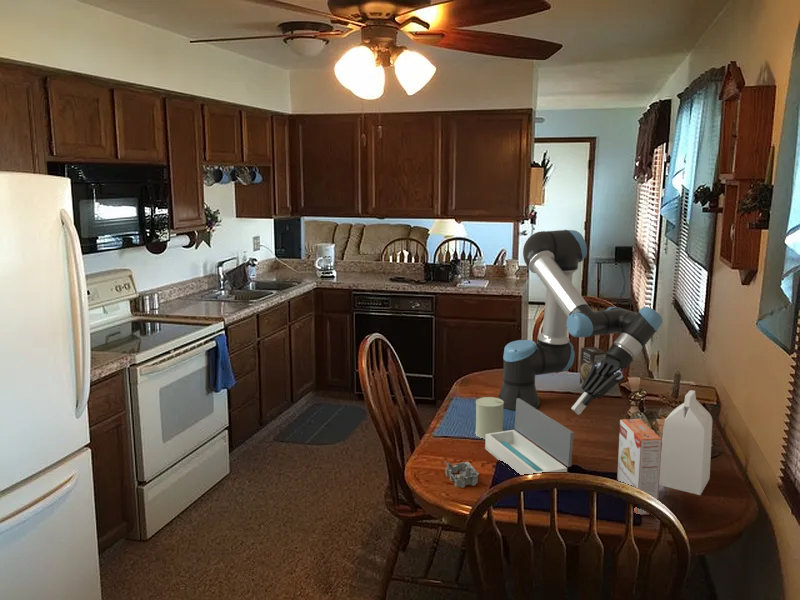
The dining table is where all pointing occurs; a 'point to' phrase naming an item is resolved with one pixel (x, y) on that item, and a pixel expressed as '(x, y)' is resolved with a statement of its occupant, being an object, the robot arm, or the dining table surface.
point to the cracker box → (639, 457)
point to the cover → (544, 432)
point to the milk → (686, 447)
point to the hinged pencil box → (520, 453)
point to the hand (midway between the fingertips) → (575, 411)
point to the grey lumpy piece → (462, 474)
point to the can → (489, 416)
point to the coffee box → (589, 360)
